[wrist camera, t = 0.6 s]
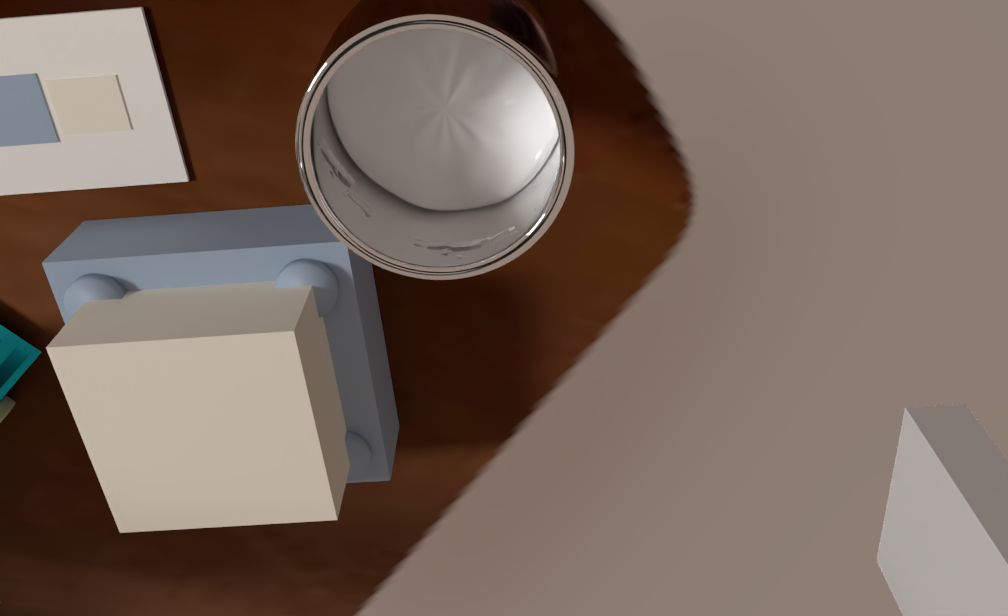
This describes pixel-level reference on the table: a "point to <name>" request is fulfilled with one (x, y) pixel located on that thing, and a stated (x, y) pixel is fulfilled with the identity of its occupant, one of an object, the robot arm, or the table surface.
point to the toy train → (12, 365)
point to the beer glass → (438, 134)
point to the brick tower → (222, 366)
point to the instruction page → (83, 104)
